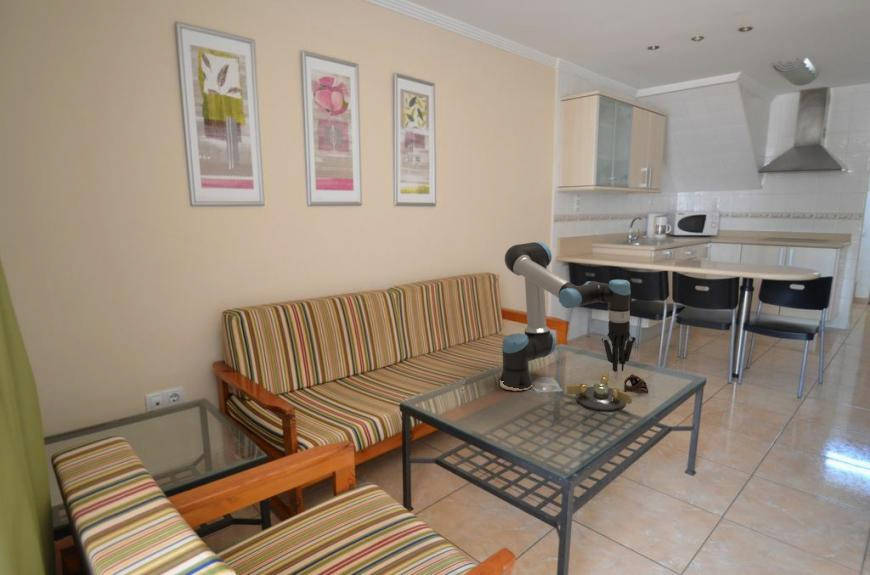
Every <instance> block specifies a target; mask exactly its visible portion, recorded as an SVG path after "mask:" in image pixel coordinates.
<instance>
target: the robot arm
mask: <svg viewBox="0 0 870 575" xmlns="http://www.w3.org/2000/svg"><path fill="white" fill-rule="evenodd" d="M552 258H553V257H552V251H551V249H550V248H549V247H548V245H547V244H545V243H544V242H542V241H534V242H528V243H527V242H526V243H519V244H515V245H512V246H510V247H509V248H508V249H507V250H506V252H505V254H504V263H505V264H504V265H505V266H506V268H507V269H508V270H509V271H510V272H511V273H513V274H514V275H516V276H518V277H519V276H520V277H521V276H522V277H524V285H525V286H524V287H525V288H524V289H525V303H526V305H525V306H526V322H527V326H526V327H525V329H524V333H522V332H521V333H512V334H508V335H506V336H505V337H504V338H503V340H502V346H501V350H502V371H501V375H500V376H499V380H501V381H504V382H503V384H504V385H506V386H508V387H513V388H519V389H524V388H528V387H530V386H531V385H532V382H533V379H532V376H531V372H530V370H529V362H530V361H531V362H532V361H534V360H537V359H541V358H546V357H547V356H550V355H552V354H553V352H554V351H555V349H556V346H557V345H556V344H557V342H556V341H557V340H556V337H555V336H554V334H553V332H552V331H550V330H551V329H550V327H548V326H547V316H546V315H547V314H546V313H547V312H546V294H545V291H547V292H548V293H550V294H552V296H555V297H556V298H558V302H559V304H561V307H563V308H565V309H573V308H578V307H581V306H586V305H590V304H593V303H602V304H603V303H604V304H608V322H607V323H608V325H607V326H608V327H607V328H608V333H607V336H606V337H603V338H602V339H601V342H602V344H603V346H604V349H605V355H606V358H607V361H608V362H610V364H612V371H613V372H614V374H613V375H614V377H613V378H614V379H615V380H617V381H622V372H624V368H625V367H624V365H626V362H629V361H630V357H631V353H632V349H633V345H634V343H635V341H636V339H637V338H636V337H635V336H632V335H631V333H630V324H631V322H630V316H631V315H630V314H631V313H630V311H631V308H630V305H631V293H632V292H631V283H630V282H629V280H627V279H626V280H625V279H611V280H610V281H609V282H608V283H605V282H598V281H595V280H594V281H585V283H584V284H582V285H575V284H573V283H572V282H570V281H568V280H566V279H564V278H563V277H561V276H559V275H557V274H556V273H554V272H552V271H551V270H549V269H548V268H547V267H548V266H549V265H550V264H551V262H552ZM610 342H611V344H610ZM611 346H612V349H611Z"/></svg>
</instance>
